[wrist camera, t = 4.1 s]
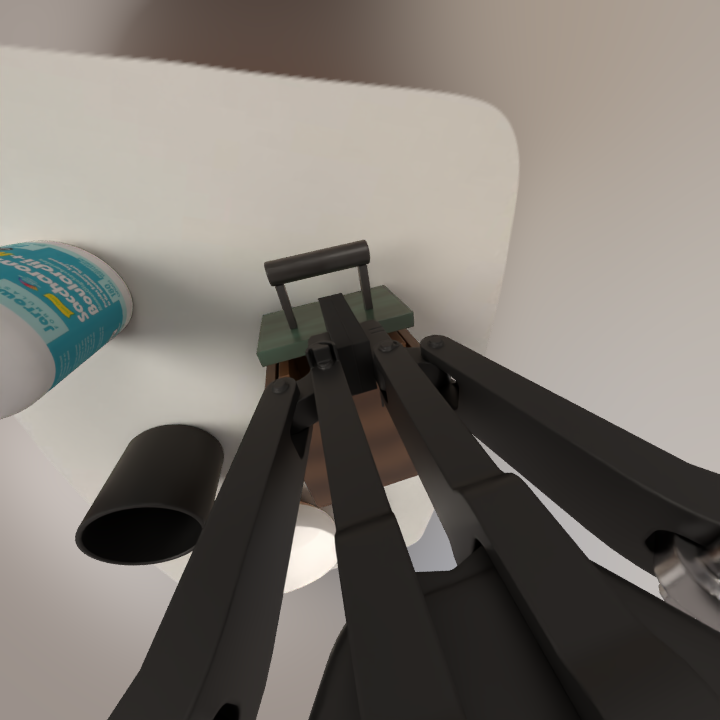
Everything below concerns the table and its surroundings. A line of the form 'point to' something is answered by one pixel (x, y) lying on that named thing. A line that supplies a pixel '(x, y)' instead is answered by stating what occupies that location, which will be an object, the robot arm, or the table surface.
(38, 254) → the pill bottle
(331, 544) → the bowl
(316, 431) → the cabinet
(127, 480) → the mug
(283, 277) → the drawer
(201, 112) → the table surface
